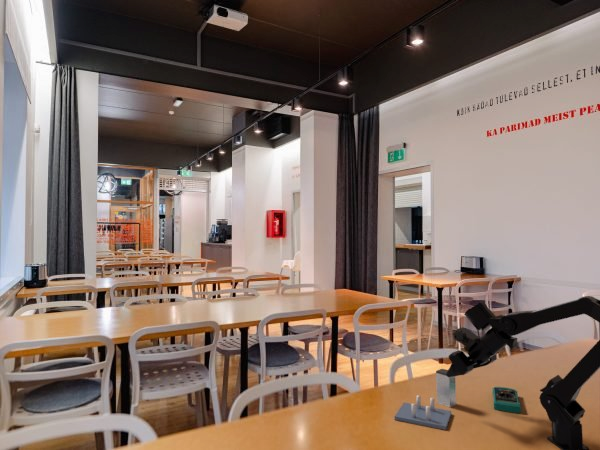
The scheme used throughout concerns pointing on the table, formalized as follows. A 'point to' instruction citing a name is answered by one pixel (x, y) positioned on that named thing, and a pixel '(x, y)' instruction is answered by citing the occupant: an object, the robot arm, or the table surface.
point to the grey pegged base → (423, 414)
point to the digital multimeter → (506, 400)
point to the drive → (445, 388)
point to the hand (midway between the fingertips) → (455, 372)
